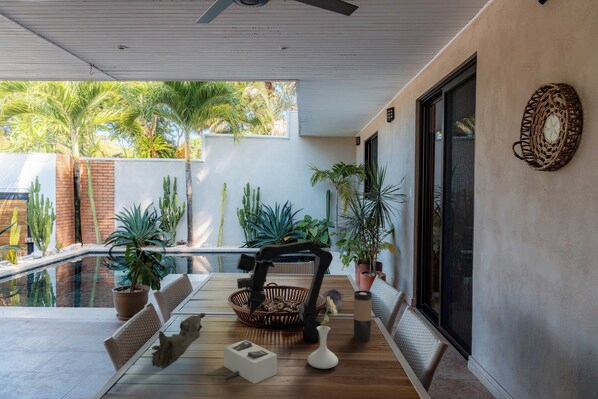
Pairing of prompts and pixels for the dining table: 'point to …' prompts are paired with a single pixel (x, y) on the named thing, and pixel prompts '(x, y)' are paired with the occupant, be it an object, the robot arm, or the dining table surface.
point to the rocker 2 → (256, 354)
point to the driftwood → (176, 342)
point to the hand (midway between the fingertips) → (249, 310)
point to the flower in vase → (324, 344)
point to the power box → (250, 363)
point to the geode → (334, 299)
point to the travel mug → (362, 315)
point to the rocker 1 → (243, 346)
